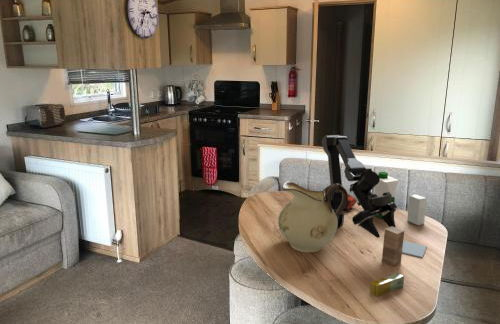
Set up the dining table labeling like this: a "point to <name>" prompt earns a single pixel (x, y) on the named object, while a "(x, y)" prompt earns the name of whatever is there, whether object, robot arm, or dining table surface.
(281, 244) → the dining table surface
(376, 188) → the milk carton
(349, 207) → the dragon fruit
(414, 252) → the slate-blue rubber mat
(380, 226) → the dining table surface
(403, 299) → the dining table surface
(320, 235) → the pitcher
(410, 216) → the skincare box
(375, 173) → the robot arm
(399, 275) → the medication box
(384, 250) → the wooden block
